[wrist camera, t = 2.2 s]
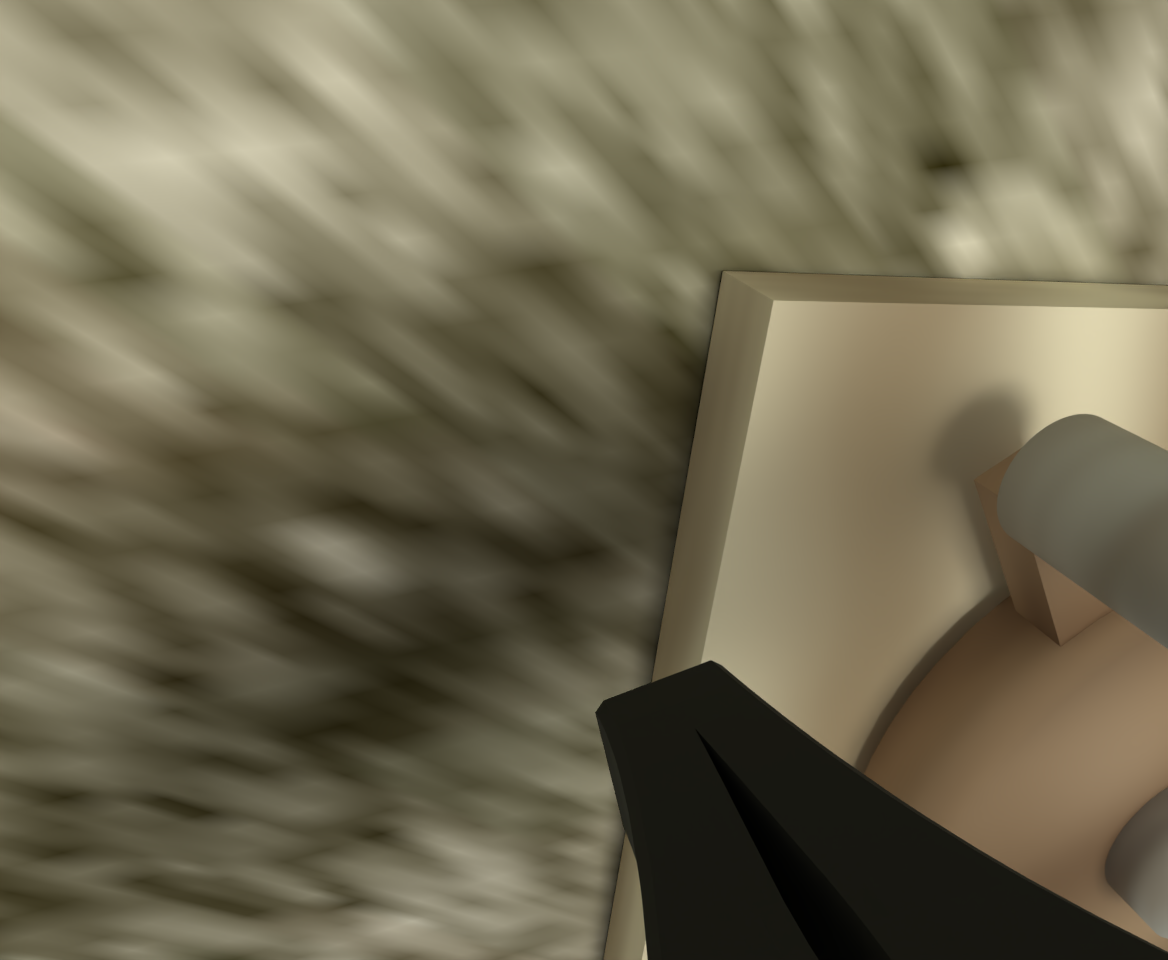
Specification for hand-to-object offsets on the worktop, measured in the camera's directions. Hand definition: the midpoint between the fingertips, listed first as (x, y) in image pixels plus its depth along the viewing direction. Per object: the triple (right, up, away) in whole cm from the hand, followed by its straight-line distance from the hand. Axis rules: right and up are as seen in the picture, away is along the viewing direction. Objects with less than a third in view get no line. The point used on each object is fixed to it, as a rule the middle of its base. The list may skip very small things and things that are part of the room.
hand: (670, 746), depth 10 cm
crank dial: (+8, -1, +7) cm, 11 cm away
